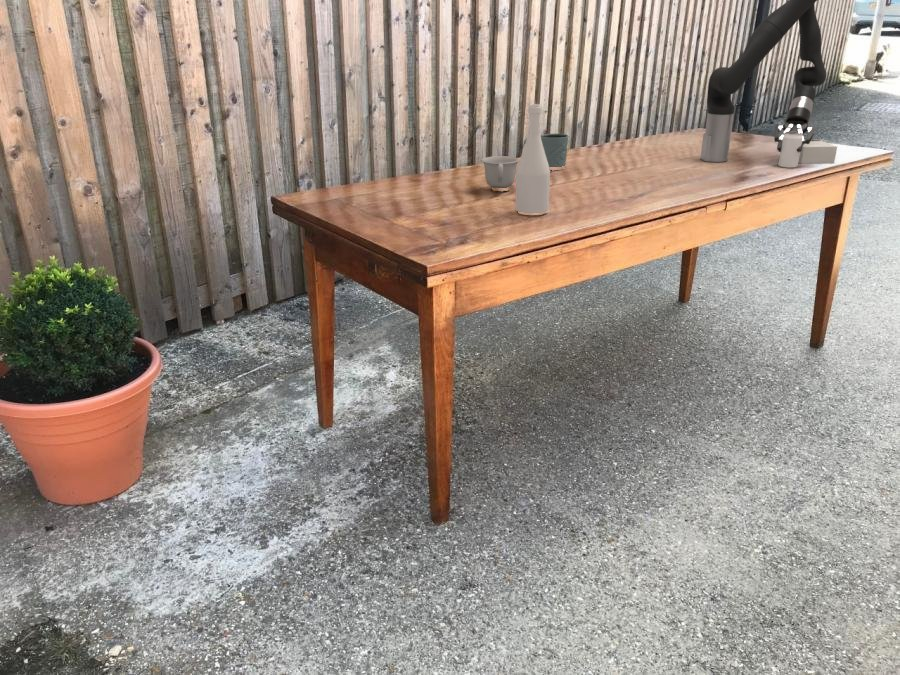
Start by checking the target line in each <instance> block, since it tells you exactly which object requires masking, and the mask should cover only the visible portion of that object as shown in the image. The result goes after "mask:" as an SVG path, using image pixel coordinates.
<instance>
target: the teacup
mask: <svg viewBox="0 0 900 675" xmlns="http://www.w3.org/2000/svg"><path fill="white" fill-rule="evenodd" d="M481 161H482V163H483V168H484V175H485V180H486V183H487V185H488V186H490V187H491V188H492V187H493V188H507V187H511V186H512V185H513V184H514V182H515V180H516V170H517V167H518V164H519V161H520V158H517V157H515V156H508V155H507V156H506V155H505V156H504V155H495V156H486V157H484V158H482V159H481Z"/></svg>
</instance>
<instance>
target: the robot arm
mask: <svg viewBox="0 0 900 675" xmlns="http://www.w3.org/2000/svg"><path fill="white" fill-rule="evenodd" d="M817 1H818V0H787V1H786V2H785V3H784V4H782V5H781V6H779V7H778V8H776V9H775V10H774V11H772V12H771V13H770V14H769V15H767V16H766V17H765V18H764V19H763V20H762V21H761V22H760V24H759V25H758V26H757V27H756V28H755V30H754V31H753V32H752V33H751V34H750V37H749V39H748V41H747V44H746V46H745V49H744V51H743V52H742V53H741V55H740V56H739V57H738V58H737V60H736V61H734V63H732V65H731V66H729V67H726V66H722V67H717V68H716V69H714V70H713V71H712V72H711V74H710V77H709V79H708V86H707V94H706V95H707V96H706V97H707V98H706V105H707V116H706V123H705V124H706V125H705V130H704V133H703V134H702V142H701V150H700V158H701V160H702V161H704V162H711V163H712V162H713V163H721V162H727V161H728V157H729V152H730V144H731V137H732V130H733V122H734V115H735V108H736V107H735V105H734V104H733V102H732V95H733V94H735V93H736V92H738V91H739V90H740V89H741V87H742V86H743V85H744V83H745V82H747V79H748V78H749V77H750V76H751V74H752V73H753V71H754V70H755V69H756V68H757V67H758V65H759V64H760V63H761V62H762V61H763V60H764V59H765V58H766V56H767V55H768V54H769V53H770V52H771V51H772V50H773V49H774V48H775V47H776V45H777V44H778V43H779V42H780V41H781V40H782V39H783V37H784V36H785V35H786V34H787V33H788V32H789V31H790V29H792V28H793V26H794V25H795V24H796V23H797V21H798V24H799V25H798V26H799V59H800V60H801V61H806V62H810V63H811V64H813V66H805V67H801V68H798V70H796V72H795V74H794V87H795V89H794V94H793V98H792V101H791V104H790V106H789V108H788V113H787V116H786V119H785V122H784V123H783V125H779V124H775V125H774V139H773V140H774V142H775V143H777V146H776V150H777V151H778V152H779V153H780V152H781V147H782V141H783V136H784V135H785V132H789V131H794V132H798V133H800V132H801V133H802V137H803V139H802V144H801V146H799V148H798V149H797V152H798V153H799V152H801V151H802V147H803V145H804V144H809V143H810V141H812V139H813V138H814V135H815V134H816V128H817V127H816V126H812V127H810V126H809V122H810V118H811V115H812V111H813V105H814V101H815V97H816V94H817V92H816V91H817V90H816V89H815V88H814V87H819V86H822V85H823V84H824V83H825V81H826V79H827V71H826V68H825V64H824V61H823V55H822V32H821V29H820V28H821V27H820V24H819V20H818V18H817V14H816V6H815V3H817ZM781 131H783V133H782V134H781V135H780V136H779V133H780V132H781ZM805 133H808V135H807V136H806V137H805V138H804V134H805Z"/></svg>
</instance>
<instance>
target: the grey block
mask: <svg viewBox="0 0 900 675" xmlns="http://www.w3.org/2000/svg"><path fill="white" fill-rule="evenodd" d="M837 151H838V145H835V144H832V143H828V142H825V141H823V140H819V141H818V140H817V141H816V140H815V141H812V140H811V141H810V143H809V144H804V145H803V147H802V151H801V152H800V156H799V161H798V164H801V163H804V164H803V165H805V164H834V163H835V160H836V155H837Z"/></svg>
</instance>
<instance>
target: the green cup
mask: <svg viewBox="0 0 900 675" xmlns="http://www.w3.org/2000/svg"><path fill="white" fill-rule="evenodd" d="M540 135H541V141H542V144H543V148H544V151H545V155H546V158H547V162H548V165H549V167H562V166H565V165H566V164H567V162H566V161H567V155H568V154H567V153H568V144H569V143H568V142H569V135H568V134H567V133H566V134H565V133H545V134H540ZM565 167H566V166H565Z"/></svg>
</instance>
